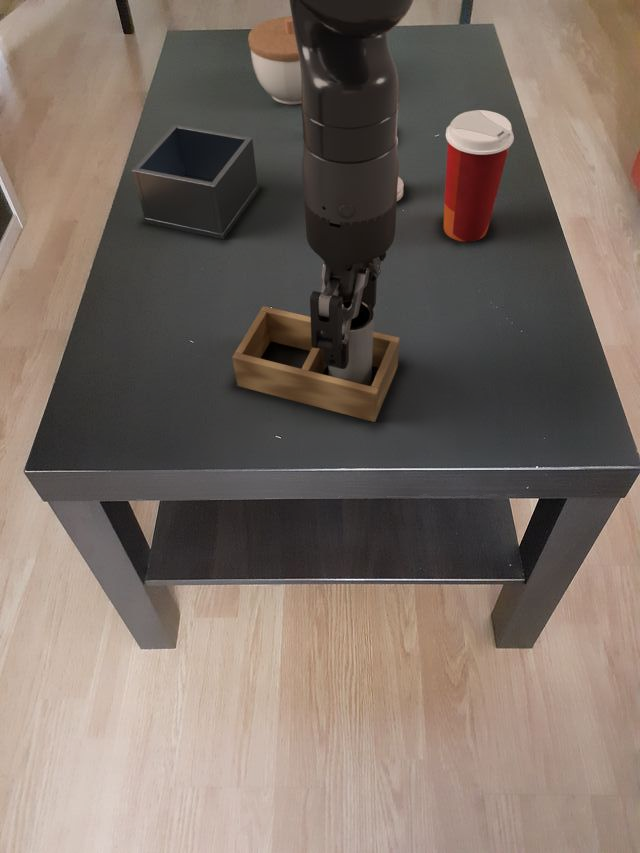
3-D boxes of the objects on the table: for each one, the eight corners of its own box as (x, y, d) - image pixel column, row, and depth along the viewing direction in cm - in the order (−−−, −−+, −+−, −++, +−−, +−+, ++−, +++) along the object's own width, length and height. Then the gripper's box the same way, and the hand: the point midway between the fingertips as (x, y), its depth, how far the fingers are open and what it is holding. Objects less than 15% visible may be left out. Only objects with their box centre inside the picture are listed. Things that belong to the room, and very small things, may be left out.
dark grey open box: (145, 223, 94) (131, 170, 88) (184, 176, 101) (174, 123, 94) (223, 239, 91) (214, 186, 85) (258, 190, 98) (252, 137, 92)
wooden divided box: (237, 386, 76) (231, 357, 72) (266, 335, 81) (263, 305, 77) (374, 422, 72) (376, 393, 69) (397, 367, 77) (399, 337, 73)
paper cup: (507, 226, 91) (529, 122, 80) (472, 255, 88) (490, 151, 77) (457, 202, 95) (472, 100, 84) (422, 230, 91) (432, 126, 80)
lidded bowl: (337, 75, 117) (336, 3, 108) (326, 115, 110) (324, 40, 101) (263, 72, 119) (256, 1, 110) (247, 111, 111) (238, 37, 102)
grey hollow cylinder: (320, 389, 75) (316, 318, 67) (343, 363, 77) (343, 290, 69) (356, 407, 74) (357, 336, 65) (379, 379, 76) (382, 307, 68)
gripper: (335, 137, 62) (338, 281, 75) (273, 234, 54) (288, 377, 67) (419, 150, 60) (407, 296, 73) (367, 253, 52) (364, 396, 65)
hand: (350, 334), depth 70 cm, fingers open, 8 cm apart
